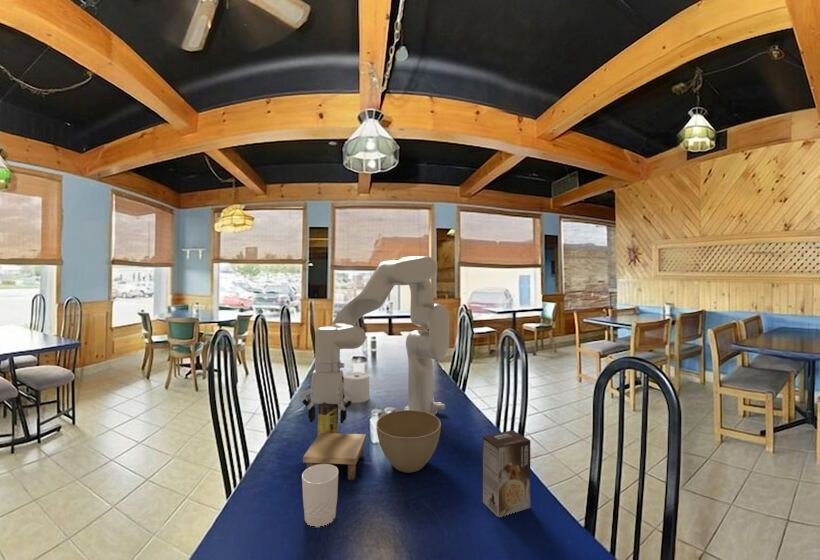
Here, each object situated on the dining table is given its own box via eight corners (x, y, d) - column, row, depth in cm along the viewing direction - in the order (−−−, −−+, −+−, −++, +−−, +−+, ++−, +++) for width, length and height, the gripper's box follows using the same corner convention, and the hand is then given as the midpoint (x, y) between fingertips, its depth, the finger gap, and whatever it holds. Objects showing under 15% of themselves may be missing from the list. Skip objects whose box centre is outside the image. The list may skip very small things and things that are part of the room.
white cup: (306, 506, 85) (305, 464, 85) (340, 504, 86) (340, 462, 85) (298, 530, 77) (298, 484, 77) (336, 528, 78) (336, 482, 78)
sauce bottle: (333, 450, 111) (332, 385, 110) (313, 448, 112) (313, 384, 112) (341, 440, 118) (341, 379, 117) (323, 438, 119) (322, 378, 118)
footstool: (366, 454, 109) (366, 434, 109) (356, 481, 95) (356, 458, 95) (319, 452, 110) (319, 432, 110) (303, 479, 96) (303, 456, 96)
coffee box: (512, 493, 90) (513, 428, 90) (531, 508, 85) (532, 440, 84) (481, 502, 87) (482, 435, 86) (498, 519, 81) (499, 447, 80)
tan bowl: (368, 456, 108) (368, 415, 108) (423, 444, 115) (423, 406, 115) (389, 490, 91) (389, 442, 91) (452, 474, 99) (452, 429, 98)
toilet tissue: (373, 400, 154) (373, 376, 153) (347, 406, 147) (347, 381, 147) (362, 393, 163) (362, 370, 162) (336, 398, 156) (336, 375, 156)
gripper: (357, 364, 117) (357, 417, 118) (304, 362, 118) (304, 415, 119) (352, 370, 110) (352, 427, 110) (295, 369, 111) (296, 425, 111)
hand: (327, 420), depth 115 cm, fingers open, 9 cm apart
